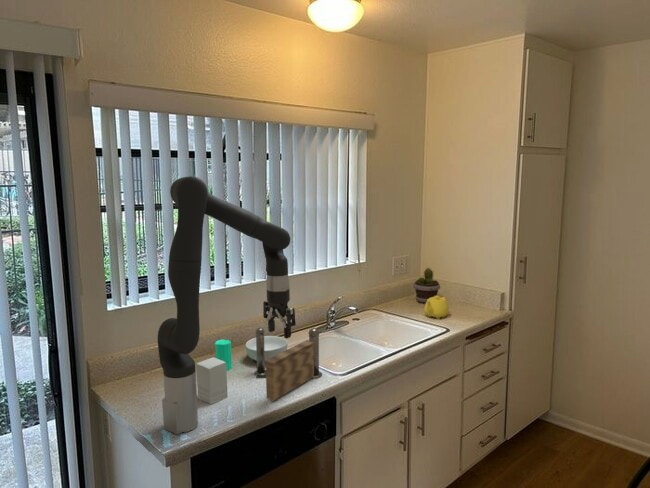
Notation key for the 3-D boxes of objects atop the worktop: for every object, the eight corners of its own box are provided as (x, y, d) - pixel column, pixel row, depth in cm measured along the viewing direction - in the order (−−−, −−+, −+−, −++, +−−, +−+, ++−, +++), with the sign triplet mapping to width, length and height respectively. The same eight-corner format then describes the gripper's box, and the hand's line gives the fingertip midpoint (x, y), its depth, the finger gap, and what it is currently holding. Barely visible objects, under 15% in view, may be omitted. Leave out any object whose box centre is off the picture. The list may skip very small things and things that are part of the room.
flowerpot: (434, 306, 276) (436, 271, 273) (408, 302, 284) (409, 268, 281) (443, 300, 289) (444, 266, 285) (418, 296, 297) (419, 263, 293)
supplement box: (228, 397, 172) (227, 362, 170) (210, 405, 167) (208, 368, 164) (215, 390, 177) (213, 356, 175) (197, 398, 171) (195, 362, 169)
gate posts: (321, 378, 186) (321, 331, 183) (252, 378, 187) (251, 330, 184) (322, 370, 193) (322, 324, 190) (255, 370, 194) (254, 324, 191)
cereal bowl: (263, 348, 216) (263, 332, 215) (295, 356, 208) (295, 339, 207) (237, 362, 202) (236, 345, 201) (270, 370, 193) (270, 353, 192)
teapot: (435, 323, 249) (436, 302, 247) (416, 318, 257) (417, 297, 255) (454, 314, 262) (454, 294, 260) (435, 310, 270) (436, 291, 268)
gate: (307, 373, 188) (306, 340, 186) (314, 376, 186) (314, 342, 184) (265, 398, 169) (264, 360, 167) (273, 401, 167) (272, 363, 165)
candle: (228, 371, 193) (227, 341, 191) (213, 370, 194) (212, 340, 192) (234, 365, 199) (233, 336, 197) (219, 364, 200) (218, 335, 198)
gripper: (255, 285, 168) (257, 332, 171) (282, 293, 158) (284, 343, 161) (273, 281, 173) (275, 326, 176) (300, 289, 163) (302, 337, 166)
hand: (279, 334), depth 169 cm, fingers open, 8 cm apart
